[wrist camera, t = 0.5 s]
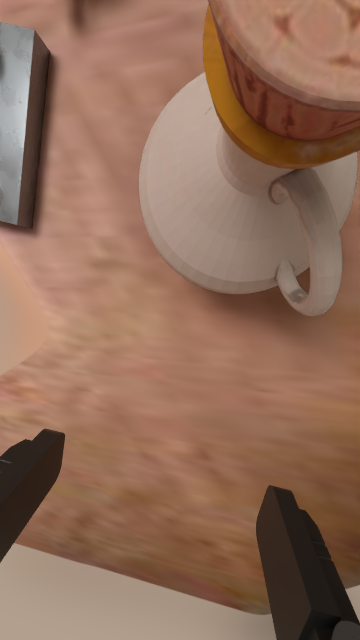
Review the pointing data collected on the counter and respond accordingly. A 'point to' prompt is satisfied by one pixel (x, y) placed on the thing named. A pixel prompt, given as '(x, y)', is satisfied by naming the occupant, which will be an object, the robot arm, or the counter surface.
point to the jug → (260, 152)
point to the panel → (20, 120)
